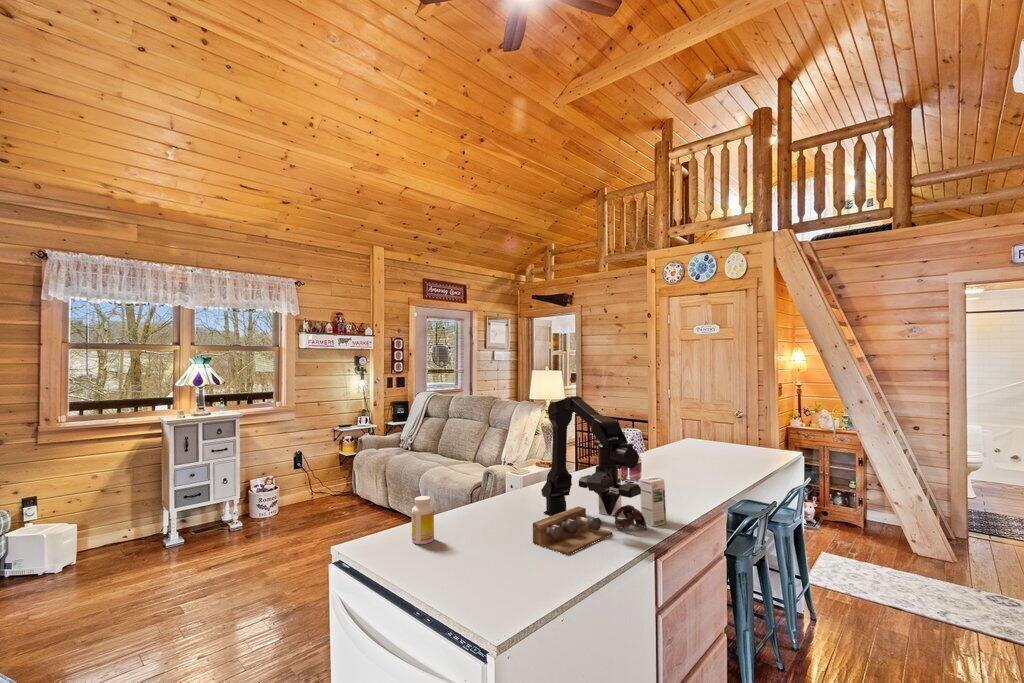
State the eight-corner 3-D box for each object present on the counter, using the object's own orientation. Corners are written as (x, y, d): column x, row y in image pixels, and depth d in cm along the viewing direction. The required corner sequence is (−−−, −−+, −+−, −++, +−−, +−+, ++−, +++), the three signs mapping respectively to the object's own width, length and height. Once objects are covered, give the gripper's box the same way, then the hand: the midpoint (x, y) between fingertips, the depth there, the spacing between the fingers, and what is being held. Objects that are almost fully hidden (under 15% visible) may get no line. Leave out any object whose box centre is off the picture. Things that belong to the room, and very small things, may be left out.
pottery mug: (652, 535, 146) (641, 514, 145) (624, 547, 148) (613, 526, 146) (643, 513, 158) (632, 493, 157) (617, 525, 159) (606, 505, 158)
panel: (533, 543, 140) (532, 522, 140) (578, 524, 155) (578, 506, 156) (567, 555, 131) (567, 533, 131) (612, 534, 146) (611, 514, 146)
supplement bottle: (438, 538, 146) (437, 495, 146) (427, 546, 139) (426, 501, 140) (418, 535, 148) (418, 494, 148) (407, 543, 141) (407, 500, 142)
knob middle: (550, 529, 147) (550, 516, 147) (558, 526, 150) (557, 513, 150) (570, 535, 141) (570, 522, 142) (578, 532, 144) (577, 519, 144)
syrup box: (653, 527, 152) (652, 481, 153) (640, 522, 157) (639, 477, 158) (666, 524, 154) (665, 479, 155) (653, 519, 160) (652, 475, 160)
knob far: (573, 526, 149) (573, 513, 150) (580, 523, 152) (580, 511, 152) (594, 532, 144) (593, 519, 144) (601, 529, 146) (600, 516, 147)
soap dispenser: (623, 509, 171) (621, 447, 172) (617, 516, 163) (615, 452, 164) (605, 507, 174) (603, 446, 175) (599, 514, 166) (597, 450, 167)
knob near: (535, 535, 142) (534, 522, 142) (543, 532, 145) (543, 519, 145) (555, 542, 136) (555, 528, 137) (563, 538, 139) (563, 525, 139)
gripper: (567, 462, 144) (568, 514, 143) (620, 471, 131) (621, 529, 130) (588, 456, 152) (590, 506, 151) (641, 464, 139) (642, 519, 138)
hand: (609, 514), depth 142 cm, fingers closed
